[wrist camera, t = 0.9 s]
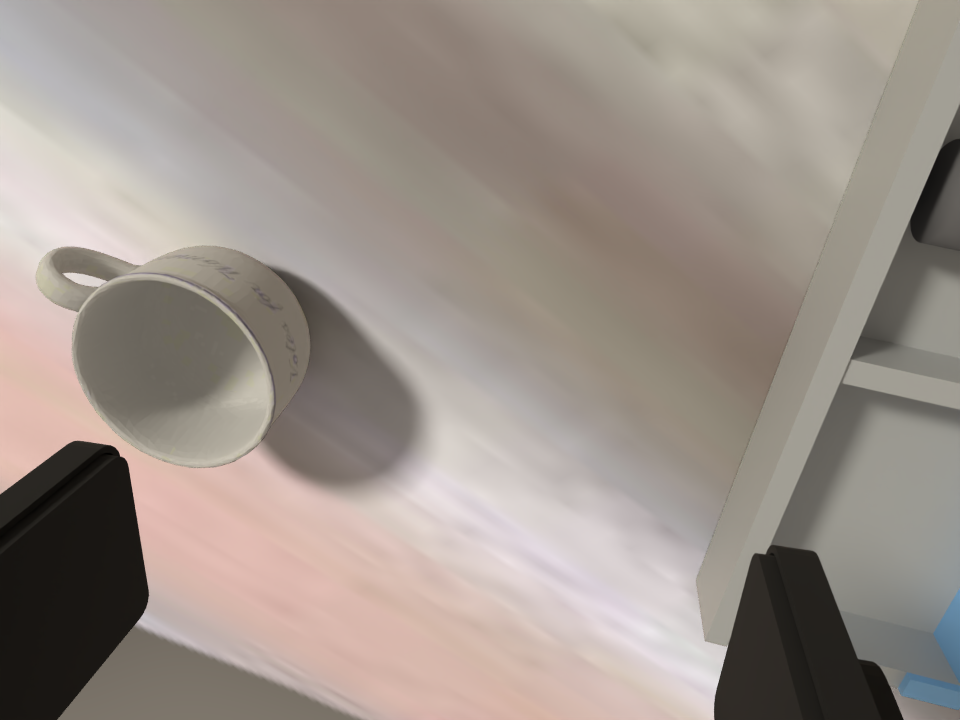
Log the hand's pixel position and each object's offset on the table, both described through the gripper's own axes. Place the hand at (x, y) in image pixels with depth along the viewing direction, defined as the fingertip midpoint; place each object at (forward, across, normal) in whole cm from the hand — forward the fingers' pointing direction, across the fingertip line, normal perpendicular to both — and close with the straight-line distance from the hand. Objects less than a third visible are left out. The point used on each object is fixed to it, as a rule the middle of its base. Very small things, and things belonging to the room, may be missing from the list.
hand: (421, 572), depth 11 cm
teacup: (+29, +19, +8) cm, 36 cm away
